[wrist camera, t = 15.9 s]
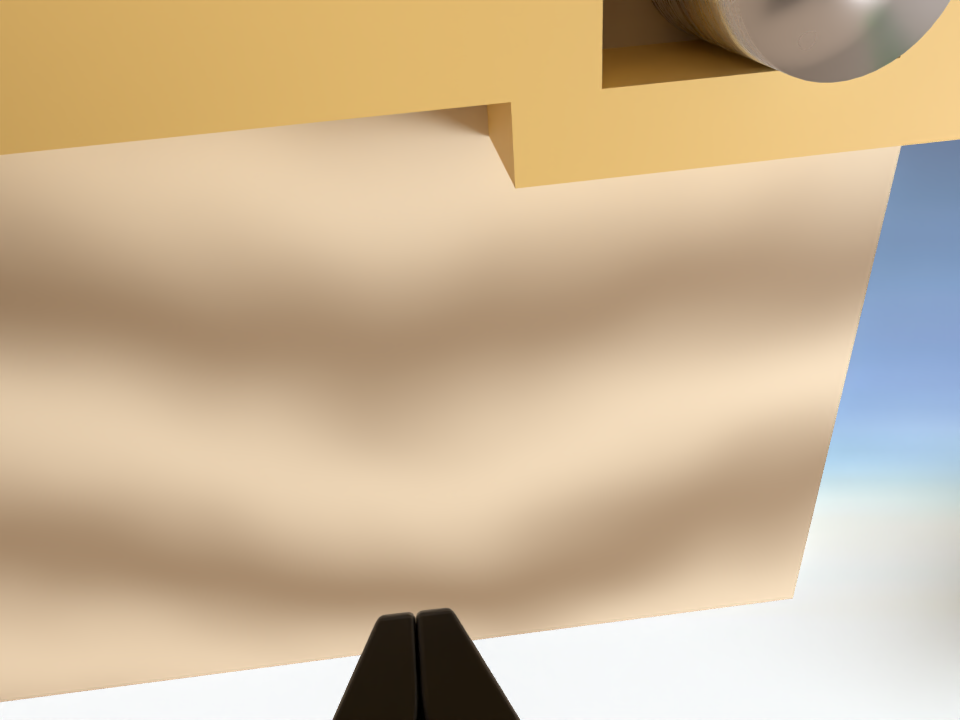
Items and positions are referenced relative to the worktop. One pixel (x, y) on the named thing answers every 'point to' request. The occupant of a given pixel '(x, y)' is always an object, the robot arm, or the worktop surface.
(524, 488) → the board
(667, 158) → the link
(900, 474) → the worktop surface
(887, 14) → the pintle
